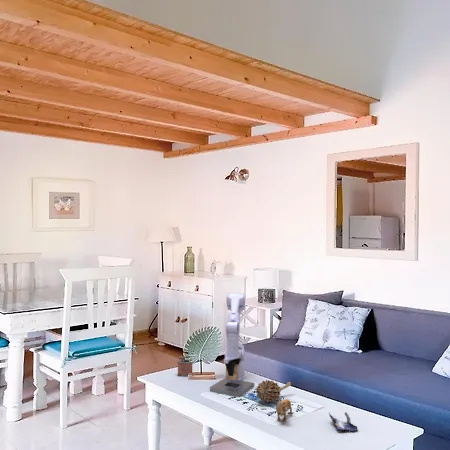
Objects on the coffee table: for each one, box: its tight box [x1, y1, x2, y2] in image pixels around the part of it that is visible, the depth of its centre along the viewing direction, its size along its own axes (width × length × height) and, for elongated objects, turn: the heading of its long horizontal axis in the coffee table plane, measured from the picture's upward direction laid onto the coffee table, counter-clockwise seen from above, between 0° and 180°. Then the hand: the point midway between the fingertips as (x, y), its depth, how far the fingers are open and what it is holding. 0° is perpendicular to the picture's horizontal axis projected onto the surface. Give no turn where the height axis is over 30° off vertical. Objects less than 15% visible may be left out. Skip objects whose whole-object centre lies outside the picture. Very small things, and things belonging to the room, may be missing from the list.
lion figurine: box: [275, 398, 293, 422], centre depth 202 cm, size 15×5×9 cm, turn 164°
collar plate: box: [209, 377, 255, 398], centre depth 236 cm, size 16×16×2 cm
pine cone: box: [254, 379, 292, 403], centre depth 222 cm, size 22×10×10 cm, turn 136°
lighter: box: [177, 356, 194, 378], centre depth 255 cm, size 8×3×10 cm, turn 84°
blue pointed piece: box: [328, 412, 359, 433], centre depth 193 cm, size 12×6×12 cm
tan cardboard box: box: [225, 364, 238, 381], centre depth 236 cm, size 3×5×7 cm, turn 62°
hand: (232, 374), depth 236 cm, fingers closed on tan cardboard box, 3 cm apart
